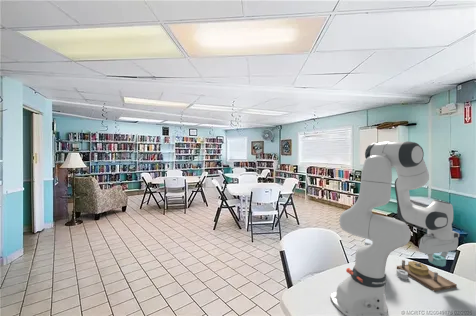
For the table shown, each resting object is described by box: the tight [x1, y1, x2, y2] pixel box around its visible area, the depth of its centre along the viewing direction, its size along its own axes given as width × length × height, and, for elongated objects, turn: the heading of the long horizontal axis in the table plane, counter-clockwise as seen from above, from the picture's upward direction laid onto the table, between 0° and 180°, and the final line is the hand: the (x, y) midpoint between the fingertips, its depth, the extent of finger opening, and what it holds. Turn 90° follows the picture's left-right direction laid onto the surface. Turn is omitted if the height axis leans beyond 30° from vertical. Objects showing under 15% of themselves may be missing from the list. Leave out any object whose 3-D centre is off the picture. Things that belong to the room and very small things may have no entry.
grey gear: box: [395, 269, 409, 280], centre depth 114 cm, size 4×4×2 cm
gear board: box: [396, 259, 458, 292], centre depth 114 cm, size 14×19×6 cm
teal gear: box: [428, 253, 447, 267], centre depth 108 cm, size 6×6×3 cm
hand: (437, 259), depth 108 cm, fingers closed on teal gear, 6 cm apart
